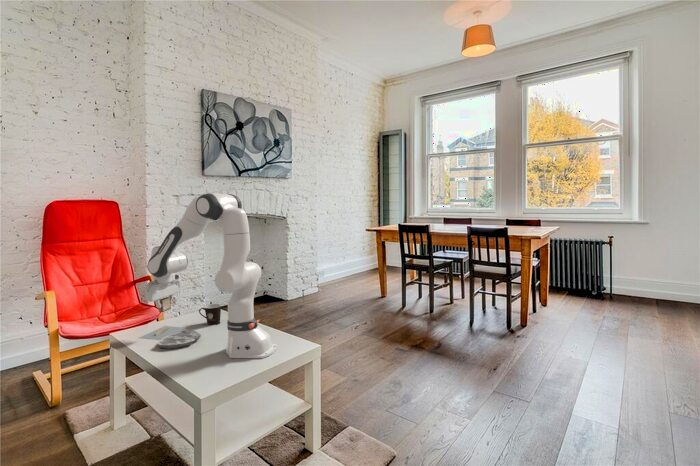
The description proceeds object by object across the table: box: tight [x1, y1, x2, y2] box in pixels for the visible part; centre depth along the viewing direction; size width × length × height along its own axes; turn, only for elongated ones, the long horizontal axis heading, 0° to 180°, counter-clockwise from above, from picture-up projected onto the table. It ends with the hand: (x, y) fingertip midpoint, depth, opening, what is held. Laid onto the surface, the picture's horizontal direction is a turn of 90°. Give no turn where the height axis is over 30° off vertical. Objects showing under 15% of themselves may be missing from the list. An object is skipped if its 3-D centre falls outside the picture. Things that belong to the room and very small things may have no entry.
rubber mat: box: [138, 325, 187, 341], centre depth 189 cm, size 14×18×1 cm
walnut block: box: [158, 296, 172, 313], centre depth 182 cm, size 2×6×6 cm, turn 165°
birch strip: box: [155, 328, 169, 336], centre depth 189 cm, size 1×9×1 cm, turn 166°
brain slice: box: [156, 329, 202, 350], centre depth 176 cm, size 20×17×3 cm
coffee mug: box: [198, 303, 222, 326], centre depth 203 cm, size 12×9×10 cm
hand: (164, 305), depth 182 cm, fingers closed on walnut block, 5 cm apart
